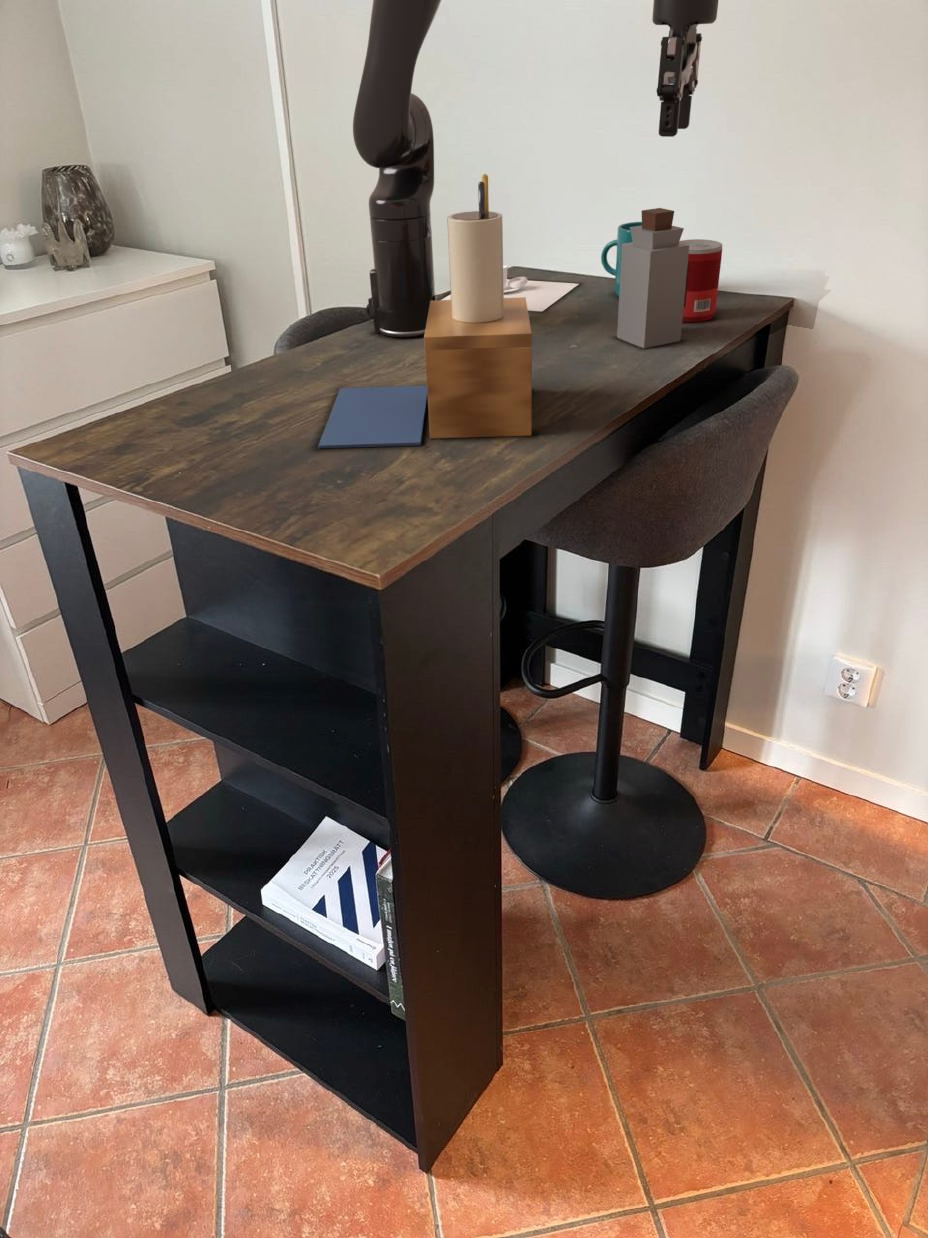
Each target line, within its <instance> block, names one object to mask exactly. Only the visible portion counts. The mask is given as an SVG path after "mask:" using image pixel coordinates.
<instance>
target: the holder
mask: <svg viewBox="0 0 928 1238" xmlns="http://www.w3.org/2000/svg"><path fill="white" fill-rule="evenodd" d="M477 188H478V189H477V191H478V192H477V194H478V210H474V211H473V210H472V211H471V210H470V211H461V212H457V213H452V214H450V215H448V216H447V240H448V241H447V243H448V262H449V263H448V265H449V267H448V268H449V286H450V287H449V288H450V289H449V290H450V294H451V312H452V318H453V319H454V320H457V321H460V322H466V323H483V322H490V321H495V320H498V319H500V318H502V317H503V316H504V283H503V265H504V223H503V222H504V217H503V213H501V212H498V211H491V210H490V206H489V201H490V200H489V175H488V174H486V173H484V174H482V175H481V181H479V182H478V183H477Z"/></svg>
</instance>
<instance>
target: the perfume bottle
mask: <svg viewBox="0 0 928 1238" xmlns="http://www.w3.org/2000/svg"><path fill="white" fill-rule="evenodd" d="M674 215H675V210H671V209H668V208H663V207H655V208H648V209H642V210H641V222H642V226H635V227H630V231H631V236H632V241H633V242H631V243H624V244H622V255H621V273H620V292H619V296H618V311H617V329H616V331H617V332H616V338H617V339H618V340H619V339H620V340H621V341H624V342H627V343H629V344H632V345H634V346H637V347H639V348H641V349H649V348H653V347H657V346H663V345H667V344H672V343H678V342H681V341H682V340H681V339H682V329H683V322H682V319H683V308H684V298H685V287H686V276H687V265H688V255H689V245H686V244H682V243H679V241H681V238H682V235H683V233H684V230H685V228H684V227H680V226H677V225H673V221H674Z"/></svg>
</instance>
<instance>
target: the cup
mask: <svg viewBox="0 0 928 1238" xmlns="http://www.w3.org/2000/svg"><path fill="white" fill-rule="evenodd" d="M635 226H642V221H632V222H626V223H622V224H620V225H618V227H617V235H616V236H617V237H616V239H613V240H611V241H609V242H608V243H607V244H605V246H603V249H602V251H601V254H600V261H601V264H602V267H603V269H604V270H605V271H606V272H607V273H608V274H609V275H612V276H614V293H615V295H616V296H617V297H619V292H620V273H621V255H622V244H624V243H631V242H633V241H632V236H631V231H630V227H635ZM613 247H616V256H615V268H613V267H612V266H611V265H610V263H609V262H608V253H609V251H610V250H611V249H612V248H613Z"/></svg>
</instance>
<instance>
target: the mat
mask: <svg viewBox="0 0 928 1238" xmlns="http://www.w3.org/2000/svg"><path fill="white" fill-rule="evenodd" d="M427 405H428V395H427V384H426V385H400V386H371V387H370V386H368V387H367V386H366V387H340V388H339V391H338V392H337V396H336V398H335V401H334V403H333V406H332V409H331V411H330V414H329V417H328V419H327V421H326V425H325V426H324V429H323V432H322V435H321V437H320V440H319V443H318V446H317V447H318V449H345V448H346V449H348V448H349V449H351V448H377V447H378V448H379V447H381V448H382V447H410V446H411V447H413V446H416V447H417V446H422V440H423V434H424V433H423V432H424V425H425V417H426V410H427Z"/></svg>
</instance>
